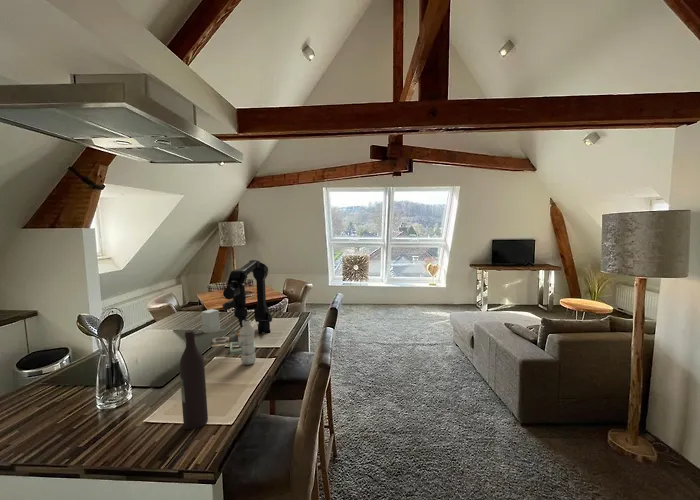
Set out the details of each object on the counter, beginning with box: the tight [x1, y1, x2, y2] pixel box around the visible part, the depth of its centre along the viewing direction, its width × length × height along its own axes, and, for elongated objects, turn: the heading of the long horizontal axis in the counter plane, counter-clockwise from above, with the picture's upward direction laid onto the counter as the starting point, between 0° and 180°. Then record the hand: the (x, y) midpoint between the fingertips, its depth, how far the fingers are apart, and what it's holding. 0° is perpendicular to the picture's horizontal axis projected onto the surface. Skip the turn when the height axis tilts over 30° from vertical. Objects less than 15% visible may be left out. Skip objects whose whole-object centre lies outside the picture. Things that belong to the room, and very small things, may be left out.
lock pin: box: [238, 332, 242, 349], centre depth 172 cm, size 4×4×8 cm
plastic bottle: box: [239, 318, 257, 366], centre depth 154 cm, size 6×7×20 cm
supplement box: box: [200, 308, 221, 334], centre depth 204 cm, size 7×7×13 cm
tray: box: [229, 340, 257, 356], centre depth 173 cm, size 12×12×2 cm
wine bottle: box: [179, 329, 209, 431], centre depth 107 cm, size 7×7×30 cm
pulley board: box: [211, 332, 239, 347], centre depth 183 cm, size 18×13×4 cm
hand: (241, 324), depth 175 cm, fingers open, 9 cm apart
